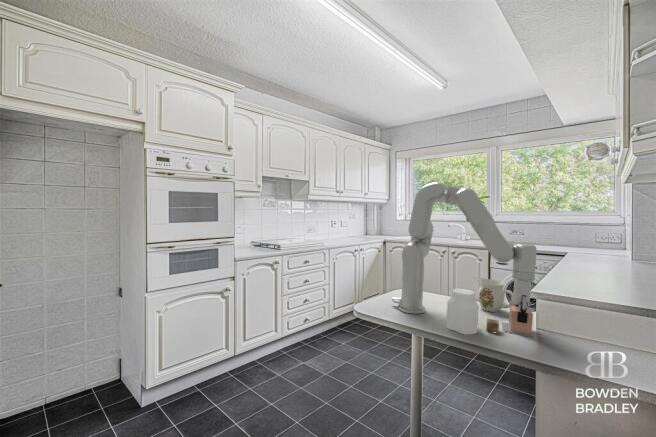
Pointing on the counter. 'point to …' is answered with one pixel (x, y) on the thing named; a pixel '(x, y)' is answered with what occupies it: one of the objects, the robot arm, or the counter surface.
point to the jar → (462, 312)
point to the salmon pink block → (520, 326)
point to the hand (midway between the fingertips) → (520, 318)
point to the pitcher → (492, 295)
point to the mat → (507, 329)
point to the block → (492, 325)
